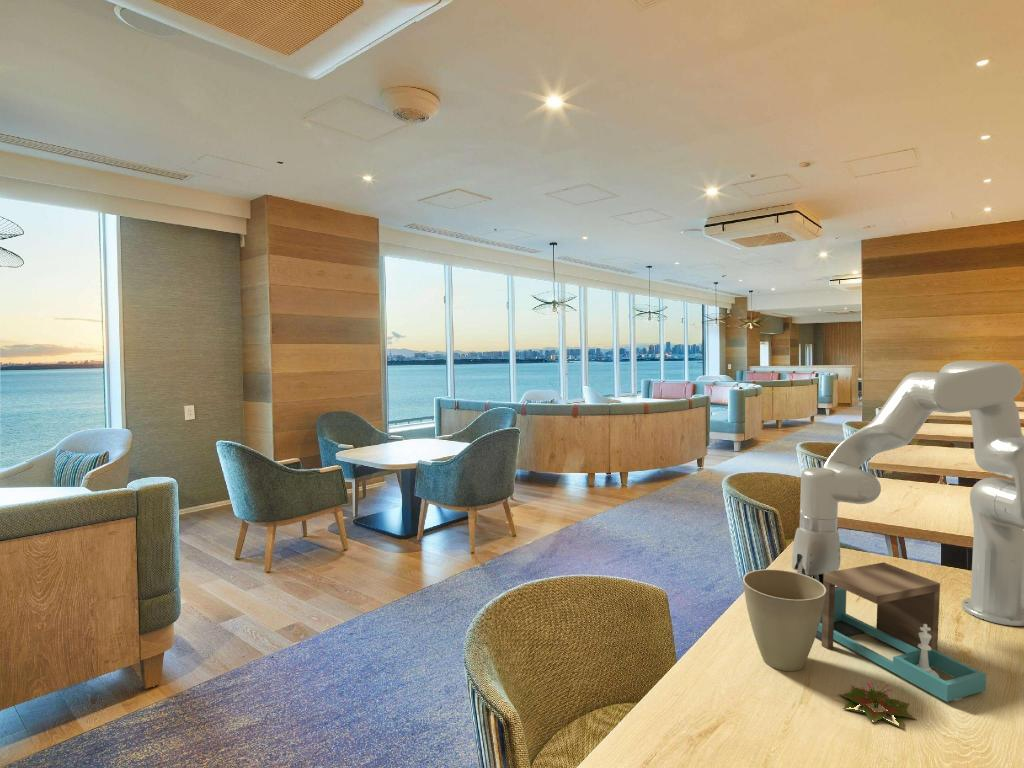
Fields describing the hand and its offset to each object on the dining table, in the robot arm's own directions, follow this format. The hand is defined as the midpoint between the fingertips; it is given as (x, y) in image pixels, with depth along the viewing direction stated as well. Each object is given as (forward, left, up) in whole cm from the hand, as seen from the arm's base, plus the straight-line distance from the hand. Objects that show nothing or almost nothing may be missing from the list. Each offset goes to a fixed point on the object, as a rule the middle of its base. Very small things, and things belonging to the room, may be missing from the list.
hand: (816, 601), depth 134 cm
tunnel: (0, +10, -4) cm, 11 cm away
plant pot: (+21, +12, -4) cm, 24 cm away
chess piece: (0, +25, -4) cm, 25 cm away
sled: (0, +17, -3) cm, 17 cm away
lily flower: (+17, +29, -5) cm, 34 cm away
